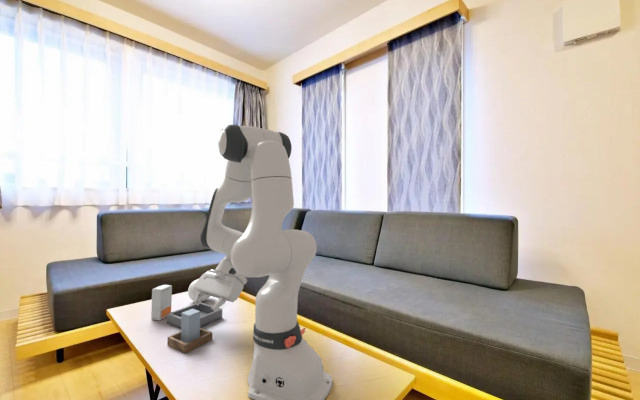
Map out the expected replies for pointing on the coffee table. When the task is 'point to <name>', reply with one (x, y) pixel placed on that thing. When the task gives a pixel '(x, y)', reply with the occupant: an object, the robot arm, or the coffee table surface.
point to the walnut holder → (187, 347)
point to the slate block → (190, 325)
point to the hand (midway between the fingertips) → (204, 307)
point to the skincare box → (161, 302)
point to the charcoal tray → (205, 315)
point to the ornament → (195, 292)
